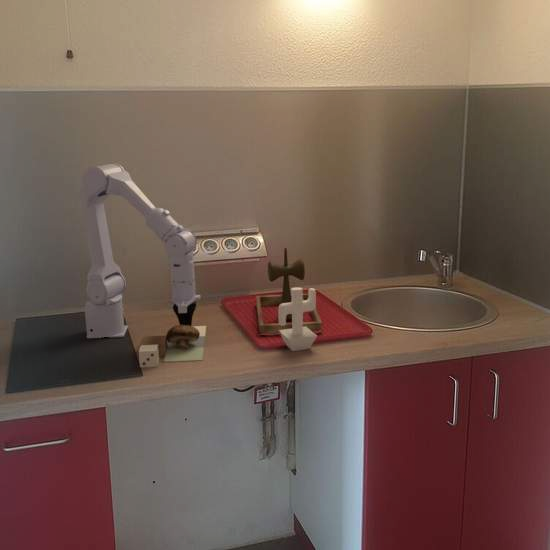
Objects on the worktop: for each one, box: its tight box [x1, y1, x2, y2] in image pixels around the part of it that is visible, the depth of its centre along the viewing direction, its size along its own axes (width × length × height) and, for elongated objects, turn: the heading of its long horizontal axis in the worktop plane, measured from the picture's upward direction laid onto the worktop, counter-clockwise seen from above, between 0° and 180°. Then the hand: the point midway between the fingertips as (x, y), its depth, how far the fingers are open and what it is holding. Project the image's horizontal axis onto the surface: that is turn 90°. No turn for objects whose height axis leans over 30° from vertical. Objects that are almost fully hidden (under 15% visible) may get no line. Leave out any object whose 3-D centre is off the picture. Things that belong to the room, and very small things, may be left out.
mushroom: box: [166, 324, 200, 349], centre depth 169 cm, size 8×8×6 cm
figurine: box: [277, 287, 318, 352], centre depth 166 cm, size 7×9×15 cm
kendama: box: [267, 247, 306, 321], centre depth 187 cm, size 6×10×20 cm, turn 100°
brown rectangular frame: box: [255, 293, 323, 335], centre depth 189 cm, size 16×26×3 cm, turn 3°
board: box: [163, 325, 207, 363], centre depth 172 cm, size 9×24×1 cm, turn 3°
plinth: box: [138, 334, 168, 357], centre depth 167 cm, size 6×6×3 cm
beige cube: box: [138, 345, 160, 368], centre depth 160 cm, size 4×4×4 cm
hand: (186, 331), depth 173 cm, fingers closed
